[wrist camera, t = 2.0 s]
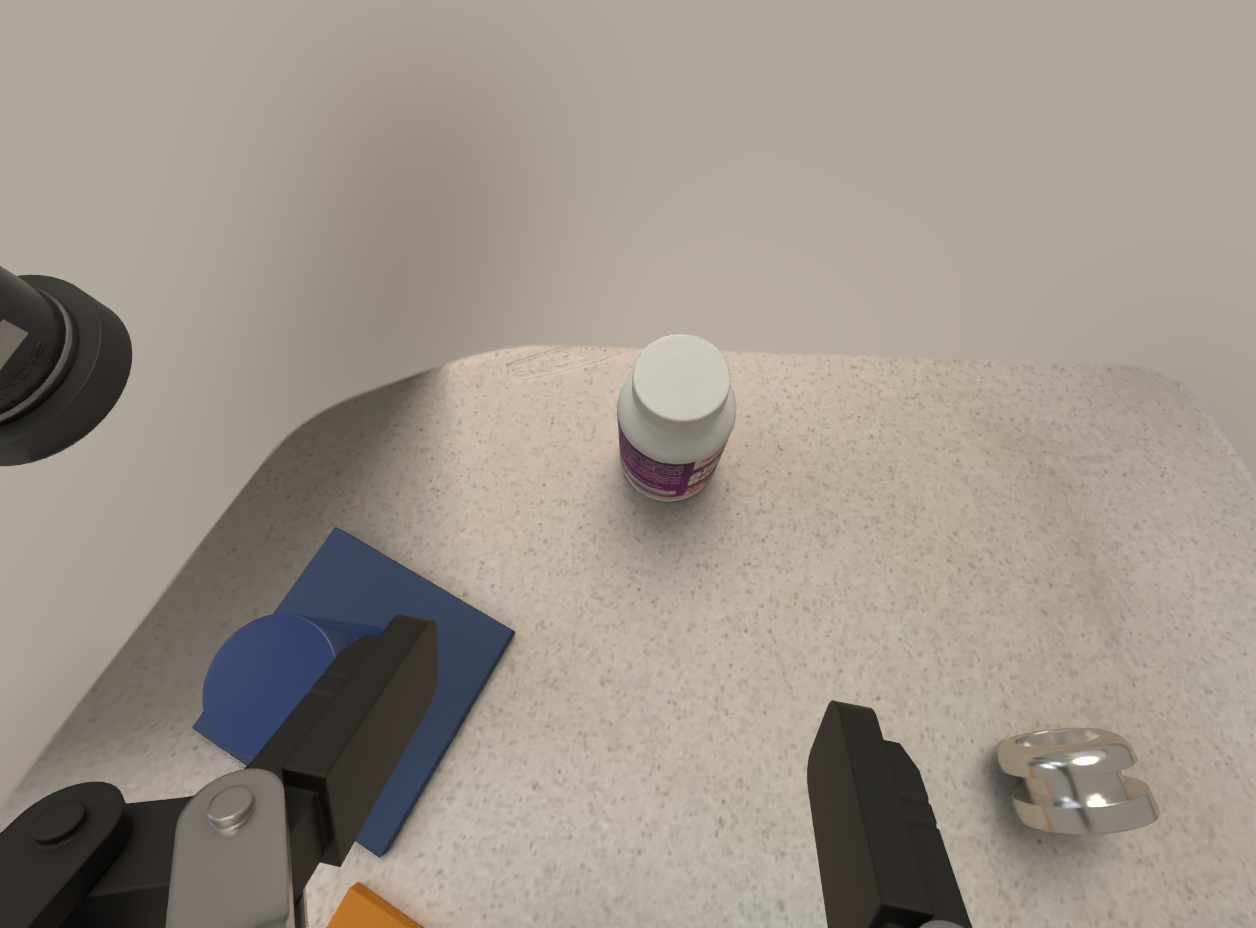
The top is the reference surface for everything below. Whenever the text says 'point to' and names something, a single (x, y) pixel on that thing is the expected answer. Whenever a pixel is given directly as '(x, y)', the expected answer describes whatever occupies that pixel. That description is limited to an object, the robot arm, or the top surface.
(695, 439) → the pill bottle
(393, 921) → the amber mat
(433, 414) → the top surface
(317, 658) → the blue tin
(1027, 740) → the grooved metal pulley
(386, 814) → the blue mat
